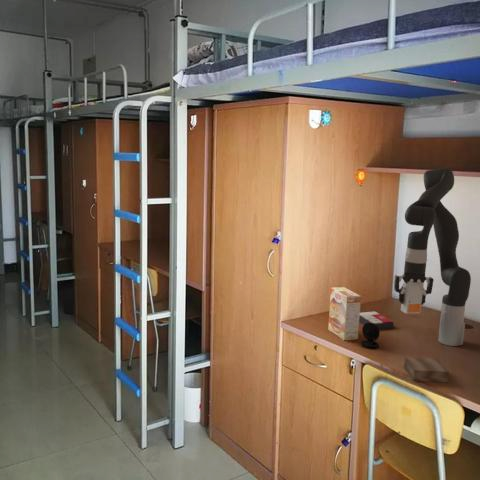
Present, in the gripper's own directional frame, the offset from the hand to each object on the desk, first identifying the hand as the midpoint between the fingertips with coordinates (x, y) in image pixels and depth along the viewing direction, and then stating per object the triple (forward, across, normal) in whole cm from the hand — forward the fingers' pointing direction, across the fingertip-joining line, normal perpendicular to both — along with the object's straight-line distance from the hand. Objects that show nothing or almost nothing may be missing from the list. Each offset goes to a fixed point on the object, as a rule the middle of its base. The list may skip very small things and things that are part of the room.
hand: (411, 303), depth 205 cm
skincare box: (+4, 0, 0) cm, 4 cm away
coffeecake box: (+24, +20, -31) cm, 44 cm away
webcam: (+24, +10, -19) cm, 32 cm away
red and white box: (+25, +2, -49) cm, 55 cm away
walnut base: (+24, -5, +9) cm, 26 cm away
